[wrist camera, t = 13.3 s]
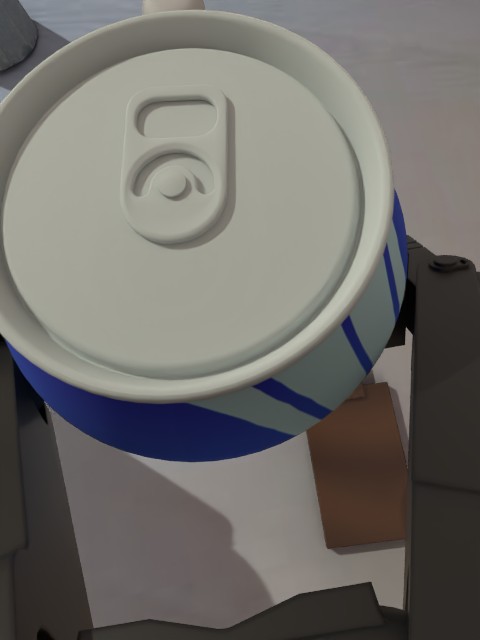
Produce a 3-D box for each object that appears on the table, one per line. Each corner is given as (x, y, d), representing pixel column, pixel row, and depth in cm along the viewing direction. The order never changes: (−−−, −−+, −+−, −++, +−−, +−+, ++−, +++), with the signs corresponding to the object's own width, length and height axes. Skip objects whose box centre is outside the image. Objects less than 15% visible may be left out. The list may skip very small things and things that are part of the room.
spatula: (274, 246, 36) (274, 236, 34) (351, 234, 36) (356, 223, 34) (326, 546, 30) (330, 554, 28) (419, 534, 30) (430, 541, 28)
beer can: (353, 344, 21) (578, 126, 6) (252, 476, 20) (199, 643, 5) (229, 252, 23) (152, -101, 8) (129, 368, 22) (-211, 226, 6)
